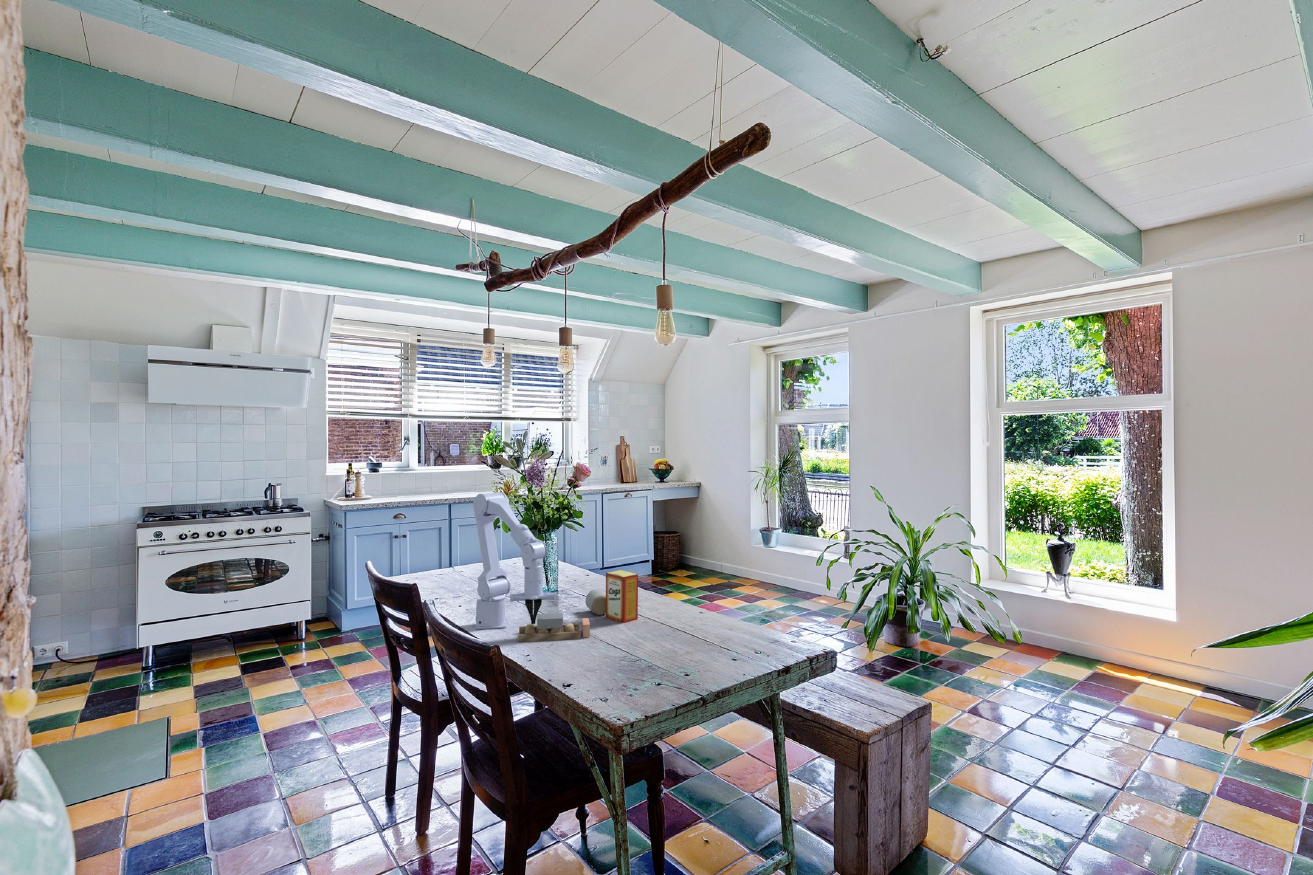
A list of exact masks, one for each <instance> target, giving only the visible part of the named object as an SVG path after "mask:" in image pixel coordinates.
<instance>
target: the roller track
mask: <svg viewBox="0 0 1313 875" xmlns="http://www.w3.org/2000/svg"><path fill="white" fill-rule="evenodd" d="M566 624H567V623H563V628H548V629H537V625H535V624H531V623H528V624H526V625H521V626H518V630H519V631H518V635H517V639H518V640H517V642H518V643H525V642H541V641H542V642H544V641H546V642H547V641H562V640H577V639H578V640H581V631H579V629H580V624H579V623H572V624H573V625H574V629H575V632H565V625H566Z"/></svg>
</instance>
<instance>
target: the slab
mask: <svg viewBox="0 0 1313 875" xmlns="http://www.w3.org/2000/svg"><path fill="white" fill-rule="evenodd" d="M563 624H564V614H563V612H552V613H551V612H549V613H537V617H536V626H537V629H548V628H563Z"/></svg>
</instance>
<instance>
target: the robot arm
mask: <svg viewBox="0 0 1313 875" xmlns="http://www.w3.org/2000/svg"><path fill="white" fill-rule="evenodd" d="M472 506H473V512H474V517H475V522H476V528H477V529H476V530H477V535H478V542H479V543H478V544H479V547H480V548H479V549H480V553H481V554H480V555H481V561H482V567H483V571H482V573H480V574H479V576H478V577H477V590H476V591H477V594H478V596H479V598H478V599H477V600H476V603H475V605H476V606H475V607H476V608H475V611H476V612H475V629H477V630H483V629H502V628H506V627H507V624H508V620H507V619H506V598H507V597H508V595H509V602H510V603H513V602H524V605H525V607H526V609H527V611H528V614H529V618H530V624H533V625H536V622H537V614H539V613H538V612H540V611H539V610H540V609H541V606H542V602H543V601H547V600H548V601H550V600H553V601H557V600H558V598H557V597H558V593H557V592H551V591H550V592H547V591H546V592H544V591H543V588H544V586H543V582H544V576H543V575H544V574H543V573H544V559H545V558H546V556H547V554H548V549H547V546H546V544H545V542H544V541H543V540H540V539H539V538H536V537H535V536H534V534H533V533H532V531H531V530H530V529H529V527H528V525H526V524H523V523H521V522H520V521H519V520H518V518H517V516H516V515H515V513H514V512H513V509H511V506H510V499H509V497H508V496H507V495H506V493H505V492H502V491H498V492H491V493H478V494H477V495H476V496H475V498H474V500H473V501H472ZM497 517H499V518H500V519H501V520H502V521H503V523H504V524H505V525H506V526H507V527H508V528H509V529H510V536H511V538H512V540H513V541H514V542H515V543H516V545H517V546H518V548H519V549H520V551H519V553H520V557H521V560H522V566H523V567H524V569H523V570H524V572H523V573H524V575H523V576H524V577H523V578H524V585H523V586H524V587H523V588H524V589H523V590H524V592H520V593H511V594H510V592H511V588H512V587H511V581H510V579H509V577H508V573H507V571H506V570H504V569H503V568H501V565H500V557H499V553H498V552H499V551H498V547H497V546H498V545H497V540H496V534H495V527H494V521H495V519H496V518H497Z"/></svg>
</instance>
